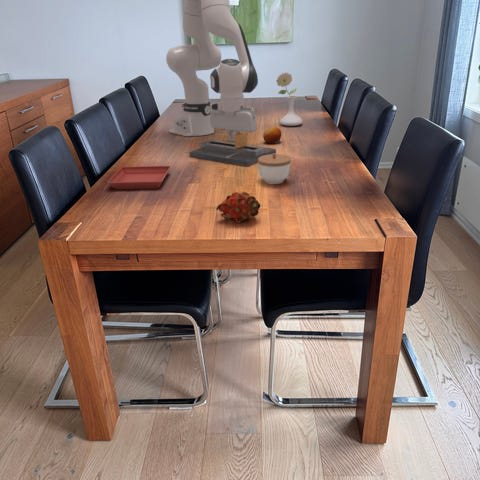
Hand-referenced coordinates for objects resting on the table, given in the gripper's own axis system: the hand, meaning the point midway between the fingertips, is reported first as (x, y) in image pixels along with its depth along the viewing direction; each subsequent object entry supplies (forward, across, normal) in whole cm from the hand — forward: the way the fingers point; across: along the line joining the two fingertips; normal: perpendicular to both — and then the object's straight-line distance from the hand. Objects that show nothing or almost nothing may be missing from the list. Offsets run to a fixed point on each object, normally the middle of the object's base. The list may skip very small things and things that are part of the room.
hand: (233, 141), depth 184 cm
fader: (+4, -3, 0) cm, 5 cm away
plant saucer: (+6, +9, +42) cm, 43 cm away
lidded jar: (+6, -30, +19) cm, 36 cm away
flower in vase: (+6, +9, -59) cm, 60 cm away
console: (+6, +1, 0) cm, 6 cm away
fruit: (+6, -2, -25) cm, 26 cm away
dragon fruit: (+6, -39, +52) cm, 65 cm away
